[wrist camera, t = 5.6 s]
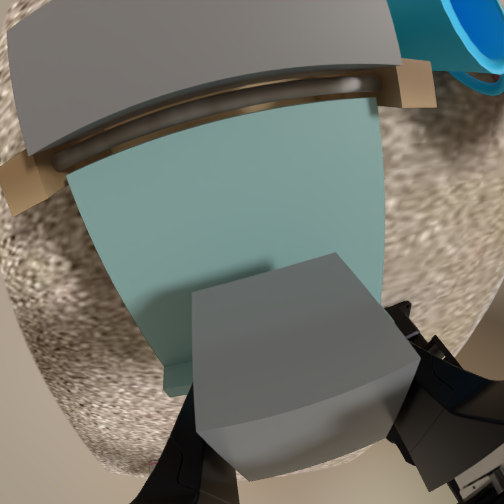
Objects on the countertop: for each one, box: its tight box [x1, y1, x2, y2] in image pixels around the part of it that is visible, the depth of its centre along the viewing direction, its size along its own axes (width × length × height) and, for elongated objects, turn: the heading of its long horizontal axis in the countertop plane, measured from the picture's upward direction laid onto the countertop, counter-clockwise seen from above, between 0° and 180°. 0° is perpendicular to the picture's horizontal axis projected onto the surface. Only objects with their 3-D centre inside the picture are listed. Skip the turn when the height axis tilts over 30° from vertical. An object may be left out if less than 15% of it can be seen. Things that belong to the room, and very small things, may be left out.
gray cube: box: [192, 252, 421, 481], centre depth 8 cm, size 5×5×5 cm
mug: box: [386, 0, 504, 96], centre depth 11 cm, size 12×8×8 cm
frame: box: [0, 58, 437, 217], centre depth 13 cm, size 18×18×9 cm
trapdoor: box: [7, 0, 403, 397], centre depth 10 cm, size 17×12×5 cm
